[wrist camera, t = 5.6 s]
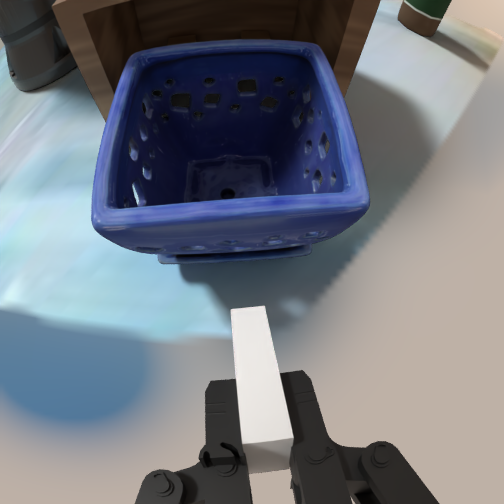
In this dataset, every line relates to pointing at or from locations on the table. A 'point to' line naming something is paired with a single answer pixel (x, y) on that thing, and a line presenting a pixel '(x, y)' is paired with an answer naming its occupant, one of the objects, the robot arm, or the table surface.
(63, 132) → the table surface
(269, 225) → the flower pot
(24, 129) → the table surface
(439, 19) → the beer bottle
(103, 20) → the shelf
